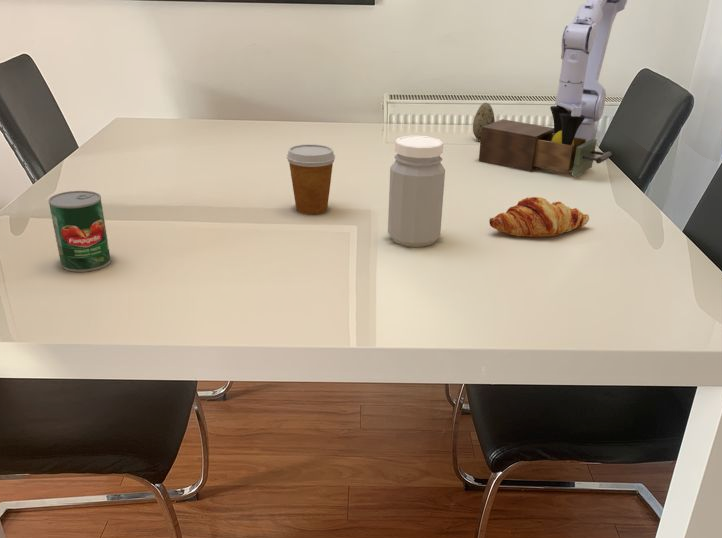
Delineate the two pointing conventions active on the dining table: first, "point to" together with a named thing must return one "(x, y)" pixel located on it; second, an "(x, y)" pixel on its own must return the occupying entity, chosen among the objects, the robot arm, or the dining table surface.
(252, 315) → the dining table surface
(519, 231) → the croissant
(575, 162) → the drawer
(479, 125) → the decorative egg
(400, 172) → the jar
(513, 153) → the cabinet
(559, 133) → the lemon
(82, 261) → the canned tomato
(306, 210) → the disposable coffee cup
